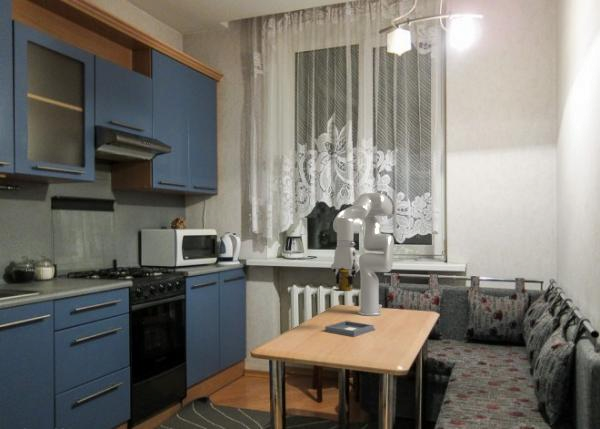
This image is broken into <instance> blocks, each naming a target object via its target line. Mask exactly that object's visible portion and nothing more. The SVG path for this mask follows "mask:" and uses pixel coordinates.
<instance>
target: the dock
mask: <svg viewBox="0 0 600 429" xmlns="http://www.w3.org/2000/svg"><path fill="white" fill-rule="evenodd" d="M374 326H375V325H374V324H369V323H368V324H367V323H362V322H355V321H350V320H343V321H340V322H336V323H333V324H332V323H331V324H329V325H325V329H323V332H326V333H330V334H331V333H332V334H337V335H343V336H349V337H354V338H355V337H358V336H361V335H363V334H367V333H370V332H373V331H375V330H376V328H374Z"/></svg>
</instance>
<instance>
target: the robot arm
mask: <svg viewBox="0 0 600 429" xmlns="http://www.w3.org/2000/svg"><path fill="white" fill-rule="evenodd" d="M392 212H393V204H392V201H391V200H390V199H389V197H388V196H386V194H384V193H381V192H368V193H367V192H365V193H363V194H360V195H359V196H358V198H357V199H356V200H355V202H354V204H353V205H351V206H349V207H347V208H345V209H342V210H341V211H339V213H337V215H336V216H335V218H334V219H333V223H332V227H333V231H334V232H335V233H336V247H335V251H334V260H333V263H332V264H331V266H330V268H331V269H332V272H334V275H335V280H336V281H335V284H337V285H339V270H340V269H341V268H344V269H345V270H348V272H349V275H350V276H349V277H348V285H352V286H353V285H354V283H355V276H356V274H357V273H358V272H359V273H360V294H359V295H360V302H359V304H360V309H358V310H357V314H358V315H361V316H369V317H370V316H371V317H372V316H381V315H382V313H383V312H382V311H381V310H380V309H381V308H382V307H383V305H382V304H380V303H379V302H380V301H379V300H380V294H379V292H380V289H379V288H380V284H379V283H380V281H379V280H380V279H379V277H378V276H377V274H376V273H389V272H391V271H392V269H393V264H394V262H393V261H394V253H395V252H394V251H395V250H394V249H395V239H394V236H393V235H392V234H390V233H382V232H381V231H382V224H381V222H380V220H379V219H378V218H377V217H389V216H391V214H392ZM364 228H365V229H364ZM363 230H364V237H363V247H364V248H363V249H364V250H365V251H367V253H366V252H365V253H362V254H361V255H360V256H359V258H357V251H356V247H354V246H356V242H354V234H360V233H362V232H363ZM373 252H374V253H373ZM375 252H380V253H375ZM357 260H358V261H357Z"/></svg>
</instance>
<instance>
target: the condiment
mask: <svg viewBox="0 0 600 429" xmlns="http://www.w3.org/2000/svg"><path fill="white" fill-rule="evenodd" d="M349 276H350V275H349V272H348V270H345V269H344V268H341V269H340V270H339V284H338V288H332V289H333V291H335V292H354V290H353V285H348V277H349Z"/></svg>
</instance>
